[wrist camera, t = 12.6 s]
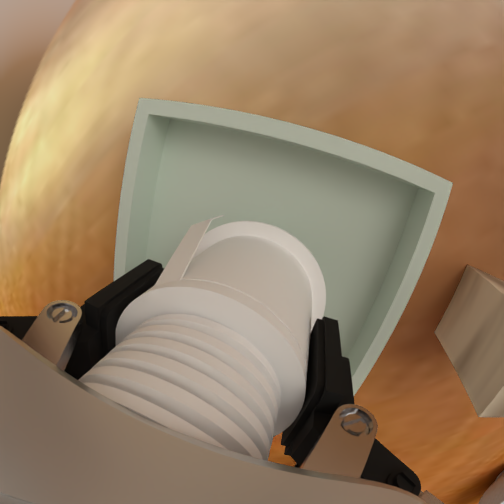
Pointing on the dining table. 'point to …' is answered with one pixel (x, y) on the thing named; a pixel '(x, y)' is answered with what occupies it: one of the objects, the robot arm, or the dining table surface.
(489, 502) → the cereal bowl
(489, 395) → the maple block
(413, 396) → the dining table surface
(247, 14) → the dining table surface
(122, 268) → the tray
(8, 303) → the dining table surface
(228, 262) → the downlight
